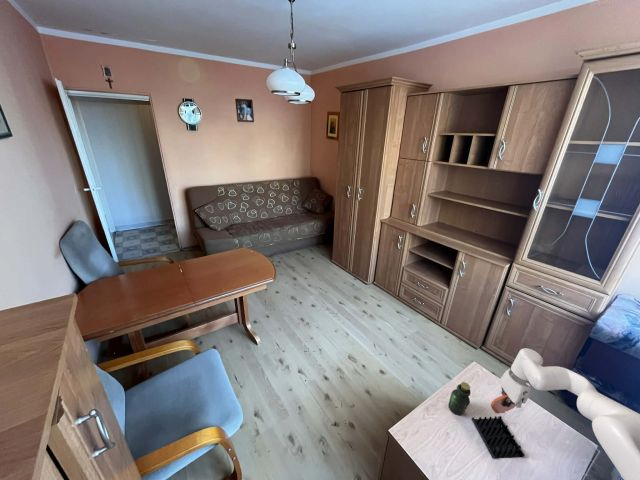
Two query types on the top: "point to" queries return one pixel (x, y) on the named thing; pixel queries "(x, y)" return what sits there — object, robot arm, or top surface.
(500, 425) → the rack
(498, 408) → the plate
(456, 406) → the potion bottle
